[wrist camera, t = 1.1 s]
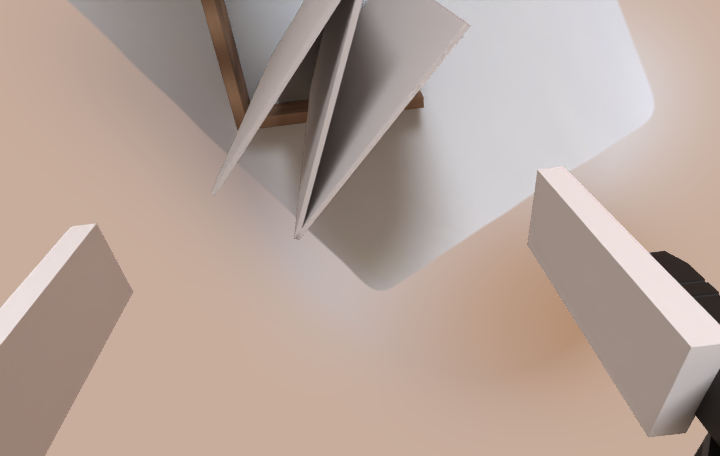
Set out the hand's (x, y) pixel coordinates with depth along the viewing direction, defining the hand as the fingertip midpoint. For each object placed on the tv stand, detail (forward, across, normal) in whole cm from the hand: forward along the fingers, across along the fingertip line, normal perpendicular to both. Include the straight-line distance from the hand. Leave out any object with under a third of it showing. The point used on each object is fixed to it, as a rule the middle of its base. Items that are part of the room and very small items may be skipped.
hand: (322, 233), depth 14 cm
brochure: (+40, 0, 0) cm, 40 cm away
